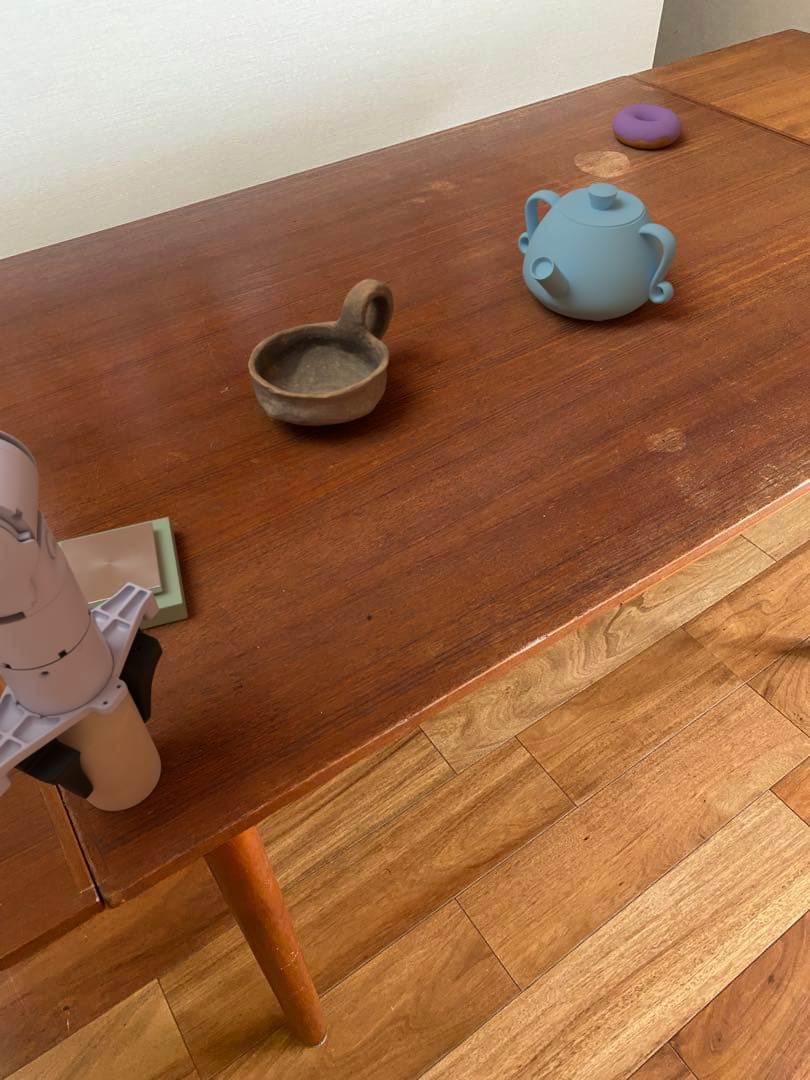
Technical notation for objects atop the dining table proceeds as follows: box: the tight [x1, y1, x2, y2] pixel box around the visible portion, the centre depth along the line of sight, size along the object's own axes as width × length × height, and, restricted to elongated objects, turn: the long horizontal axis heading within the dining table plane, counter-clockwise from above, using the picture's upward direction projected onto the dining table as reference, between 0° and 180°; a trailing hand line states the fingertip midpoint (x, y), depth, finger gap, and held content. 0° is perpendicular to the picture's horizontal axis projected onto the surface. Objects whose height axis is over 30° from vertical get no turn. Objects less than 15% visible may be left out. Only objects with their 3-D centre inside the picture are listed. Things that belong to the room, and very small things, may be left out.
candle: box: [56, 691, 162, 812], centre depth 56 cm, size 6×6×10 cm
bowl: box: [247, 278, 395, 427], centre depth 84 cm, size 14×18×10 cm
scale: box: [56, 516, 189, 631], centre depth 71 cm, size 10×10×2 cm
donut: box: [611, 103, 682, 150], centre depth 126 cm, size 10×9×5 cm
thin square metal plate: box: [61, 522, 163, 609], centre depth 70 cm, size 7×7×1 cm
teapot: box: [517, 182, 677, 322], centre depth 94 cm, size 20×20×13 cm
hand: (108, 751), depth 58 cm, fingers closed on candle, 5 cm apart
